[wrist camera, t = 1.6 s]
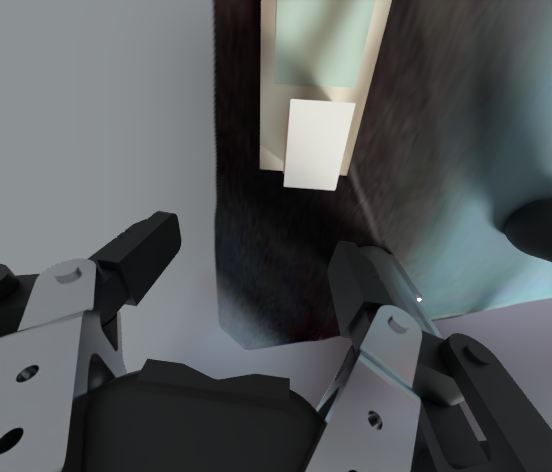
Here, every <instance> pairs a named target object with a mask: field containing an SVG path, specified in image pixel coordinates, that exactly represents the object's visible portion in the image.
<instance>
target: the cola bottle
mask: <svg viewBox="0 0 552 472" xmlns="http://www.w3.org/2000/svg"><path fill="white" fill-rule="evenodd" d="M505 235H506V237H507V239H508V240H509V241H510V242H511V243H512V244H513V245H514V246H515V247H516V248H517V249H519V250H520V251H522V252H524V253H526V254H528V255H531V256H534V257H537V258H541V259H544V260H547V261H550V262H552V198H551V199H544V200H539V201H536V202H533V203H531V204H529V205H526V206H525V207H523V208H521V209H520V210H518V211H517V212H516V213H514V214H513V215H512V216H511V217H510V219H509V220H508V221H507V223H506V226H505Z"/></svg>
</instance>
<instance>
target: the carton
mask: <svg viewBox="0 0 552 472" xmlns="http://www.w3.org/2000/svg"><path fill="white" fill-rule="evenodd" d="M355 104H356V103H347V102H331V101H316V100H300V99H291V100H290V108H288V110H287V123H286V137H285V151H284V164H283V173H285V176H284V187H295V188H309V189H322V190H335V189H336V185H337V181H338V176H339V172H340V168H341V164H342V159H343V155H344V151H345V147H346V142H347V138H348V134H349V130H350V125H351V121H352V117H353V113H354V108H355Z"/></svg>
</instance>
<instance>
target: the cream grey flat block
mask: <svg viewBox="0 0 552 472" xmlns="http://www.w3.org/2000/svg"><path fill="white" fill-rule="evenodd" d="M391 2H392V0H261V85H260V169H266V170H280V171H283V164H284V151H285V137H286V123H287V110H288V108H290V100H291V99H300V100H316V101H331V102H347V103H356V104H355V108H354V113H353V117H352V121H351V125H350V130H349V134H348V138H347V142H346V147H345V151H344V155H343V159H342V164H341V168H340V172H339V175H347V172H348V168H349V164H350V160H351V157H352V153H353V149H354V145H355V141H356V137H357V133H358V129H359V126H360V122H361V118H362V114H363V110H364V106H365V102H366V98H367V95H368V91H369V87H370V83H371V79H372V75H373V71H374V67H375V64H376V60H377V56H378V52H379V48H380V44H381V40H382V37H383V33H384V29H385V25H386V21H387V17H388V13H389V9H390V6H391Z"/></svg>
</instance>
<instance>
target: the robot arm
mask: <svg viewBox="0 0 552 472" xmlns="http://www.w3.org/2000/svg"><path fill="white" fill-rule="evenodd" d="M180 247H181V235H180V229H179V222H178V217H177V215H176V214H174V213H168V212H162V211H157V212H156V213H154V214H153V215H152V216H151V217H149V218H148V219H147V220H146V219H145V220H143V221H140V222H138V223H135V224H133V225H132V226H131V227H129V228H128V229H127V230H125V232H123V233H121V234H120V235H119V236H117V238H115V239H113V240H112V241H111V242H109V243H108V244H107V245H105V246H104V247H103V248H101V249H100V250H99V251H98V252H96V253H95V254H93V255H92V256H91V257H90V258H88V259H74V260H68V261H64V262H61V263H58V264H56V265H54V266H52V267H50V268H48V269H46V270H45V271H44V272H42V273H41V274H32V275H19V276H15V275H14V274H13V273H12V271H11V270H10V269H9V268H8V267H7V266H6V265H3V264H0V472H552V429H551V428H550V427H549V426H548V424H547V423H546V422H545V420H544V419H543V418H542V416H541V415H540V414H539V413H538V411H537V410H536V408H535V407H534V406H533V405H532V403H531V402H530V401H529V399H527V397H526V395H525V394H524V393H523V391H522V390H521V389H520V388H519V387H518V385H517V384H516V382H515V381H514V380H513V378H512V377H511V376H510V375H509V373H508V372H507V371H506V369H505V368H504V367H503V366H502V364H501V363H500V362H499V360H498V359H497V358H496V357H495V355H494V354H493V353H492V352H491V351H490V350H488V349H487V348H486V347H485V346H484V345H482V344H481V343H479V342H478V341H476V340H475V339H473V338H471V337H469V336H466V335H464V334H459V333H455V334H452V335H451V336H450V337H448V338H447V339H446V340H444V339H443V338H442V336H441V335H440V333H439V332H438V330H437V329H436V327H435V326H434V324H433V323H432V321H431V320H430V318H429V317H428V315H427V313H426V312H425V310H424V309H423V307H422V306H421V304H420V303H419V302H420V301H421V300H422V295H421V294H420V292H419V291H418V289H417V288H416V286H415V285H414V283H413V282H412V281H411V279H410V278H409V276H408V275H407V273H406V272H405V270H404V269H403V267H402V266H401V265H400V263H399V262H398V260H397V259H396V257H395V256H394V255H393V254H388V253H387V252H386V251H385V250H383V249H381V248H379V247H375V246H363V247H359V248H358V246H357V244H356V243H352V242H346V241H339V242H338V243H337V246H336V248H335V251H334V253H333V256H332V258H331V260H330V263H329V266H328V278H329V282H330V287H331V292H332V296H333V301H334V305H335V310H336V315H337V319H338V324H339V329H340V333H341V337H346V338H351V340H352V343H353V345H352V346H351V348H350V350H349V351H348V353H347V355H346V357H345V359H344V361H343V363H342V365H341V367H340V369H339V370H338V372H337V374H336V376H335V378H334V380H333V382H332V383H331V385H330V387H329V389H328V390H327V392H326V394H325V395H324V397H323V398H322V400H321V402H320V403H319V405H318V407H317V409H316V410H315V409H314V407H312V405H311V404H310V403H309V402H307V401H306V400H305V399H304V398H303V397H302V396H300V395H299V394H297V393H295V392H294V391H292V390H290V388H289V387H290V379H289V378H282V377H274V376H268V375H261V374H251V375H245V376H239V377H233V378H226V379H220V380H217V379H213V378H211V377H209V376H207V375H205V374H203V373H201V372H199V371H197V370H194V369H193V368H190V367H189V366H187V365H185V364H181V363H173V362H167V361H159V360H152V359H147V361H146V362H145V364H144V366H143V368H142V369H141V370H139V371H135V372H131V373H128V374H127V372H126V368H125V364H124V361H123V355H122V332H121V313H120V311H119V310H120V308H121V307H122V306H123V305H124V304H127V305H133V306H137V305H138V304H139V302H140V301H141V300H142V298H143V297H144V296H145V294H146V293H147V292H148V290H149V289H150V288H151V287H152V285H153V284H154V283H155V281H156V280H157V279H158V277H159V276H160V275H161V274H162V272H163V271H164V270H165V268H166V267H167V266H168V265H169V263H170V262H171V261H172V259H173V258H174V257H175V255H176V254H177V253H178V251H179V249H180ZM464 400H465V401H466V403H467V404H468V406H469V408H470V410H471V412H472V413H473V415H474V417H475V419H476V421H477V423H478V425H479V426H480V428H481V430H482V432H483V434H484V436H485V437H486V439H487V440H486V441H478V440H477V438H476V436H475V434H474V432H473V430H472V429H471V426H470V424H469V422H468V421H467V419H466V417H465V415H464V413H463V411H462V409H461V407H460V405H459V403H460V402H462V401H464Z"/></svg>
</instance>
